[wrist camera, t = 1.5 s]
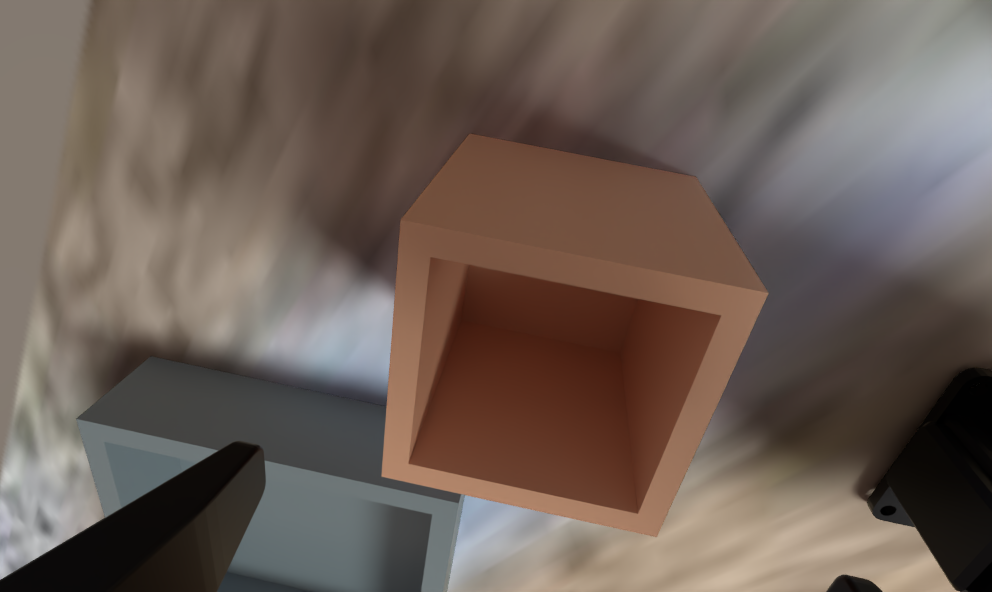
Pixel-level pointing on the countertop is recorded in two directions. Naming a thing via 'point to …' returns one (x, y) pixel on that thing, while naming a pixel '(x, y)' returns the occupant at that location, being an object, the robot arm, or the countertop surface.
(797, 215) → the countertop surface
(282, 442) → the large crate
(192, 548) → the robot arm
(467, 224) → the small crate
